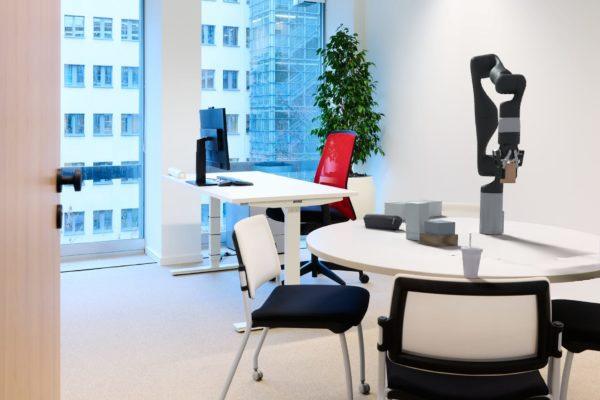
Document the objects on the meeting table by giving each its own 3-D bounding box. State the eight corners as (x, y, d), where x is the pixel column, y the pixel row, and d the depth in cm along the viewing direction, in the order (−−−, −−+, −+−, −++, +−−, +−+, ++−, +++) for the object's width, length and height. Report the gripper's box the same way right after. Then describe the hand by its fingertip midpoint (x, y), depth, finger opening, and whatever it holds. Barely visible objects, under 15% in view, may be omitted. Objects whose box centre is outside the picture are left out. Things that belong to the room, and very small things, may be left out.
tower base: (440, 243, 246) (440, 231, 246) (457, 246, 238) (458, 234, 237) (419, 244, 242) (419, 232, 241) (436, 248, 233) (436, 235, 233)
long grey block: (401, 226, 302) (402, 203, 301) (384, 224, 310) (384, 202, 309) (441, 222, 323) (442, 200, 323) (424, 220, 331) (424, 199, 330)
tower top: (441, 231, 245) (441, 220, 244) (455, 234, 237) (455, 222, 237) (424, 232, 241) (424, 220, 241) (437, 235, 234) (438, 223, 234)
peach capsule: (507, 182, 232) (507, 163, 231) (518, 183, 227) (519, 163, 227) (497, 182, 229) (497, 163, 229) (508, 183, 225) (508, 163, 224)
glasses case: (405, 232, 279) (406, 214, 278) (396, 234, 270) (397, 216, 269) (367, 229, 288) (368, 212, 287) (357, 231, 279) (358, 213, 278)
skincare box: (430, 240, 251) (431, 202, 250) (419, 241, 248) (419, 203, 247) (415, 238, 258) (416, 201, 257) (404, 239, 255) (404, 201, 254)
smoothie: (463, 276, 197) (465, 231, 196) (484, 279, 194) (486, 233, 192) (456, 279, 192) (458, 233, 191) (477, 282, 188) (479, 235, 187)
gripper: (515, 131, 234) (513, 178, 235) (486, 131, 227) (485, 178, 228) (531, 131, 227) (530, 179, 228) (502, 130, 220) (501, 179, 221)
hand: (507, 178), depth 228 cm, fingers closed on peach capsule, 5 cm apart
